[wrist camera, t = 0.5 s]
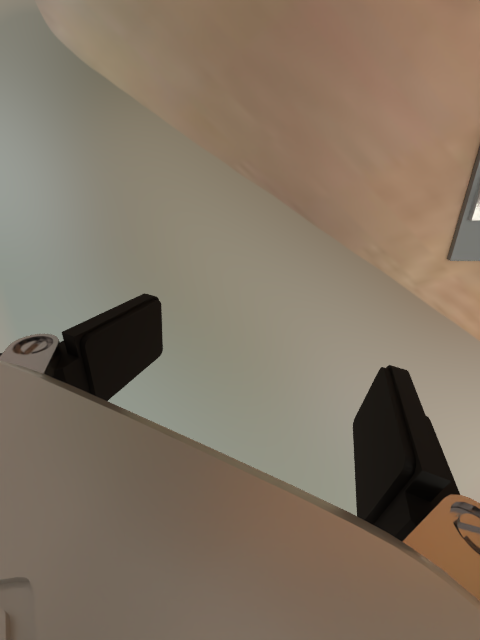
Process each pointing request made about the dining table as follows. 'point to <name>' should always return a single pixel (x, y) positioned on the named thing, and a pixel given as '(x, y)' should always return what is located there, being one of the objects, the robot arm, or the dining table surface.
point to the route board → (467, 224)
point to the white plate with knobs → (475, 206)
